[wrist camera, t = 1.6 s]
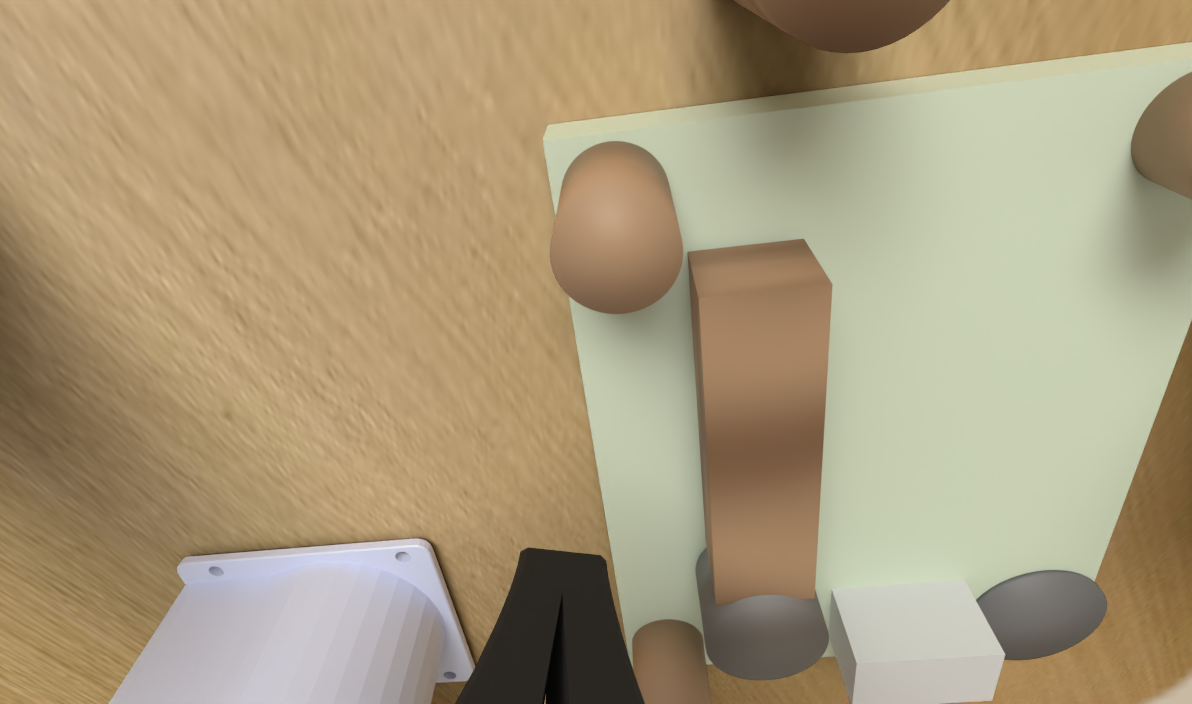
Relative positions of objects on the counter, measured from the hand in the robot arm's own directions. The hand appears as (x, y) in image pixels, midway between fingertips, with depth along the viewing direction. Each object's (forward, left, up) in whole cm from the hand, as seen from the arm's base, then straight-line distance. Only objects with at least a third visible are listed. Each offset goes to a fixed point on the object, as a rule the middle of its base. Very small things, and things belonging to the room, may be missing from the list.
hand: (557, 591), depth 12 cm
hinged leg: (+5, -4, -8) cm, 10 cm away
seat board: (+8, -5, -10) cm, 13 cm away
